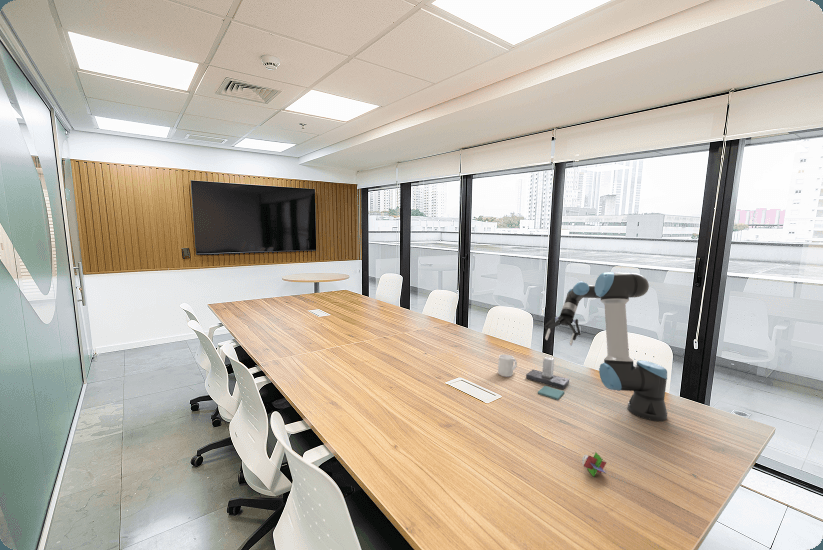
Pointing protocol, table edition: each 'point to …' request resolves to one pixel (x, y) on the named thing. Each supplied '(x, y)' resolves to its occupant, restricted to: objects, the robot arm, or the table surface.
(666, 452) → the table surface
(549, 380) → the block
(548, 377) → the steel peg
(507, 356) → the mug
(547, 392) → the teal mat
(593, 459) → the geometric puzzle
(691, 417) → the table surface
